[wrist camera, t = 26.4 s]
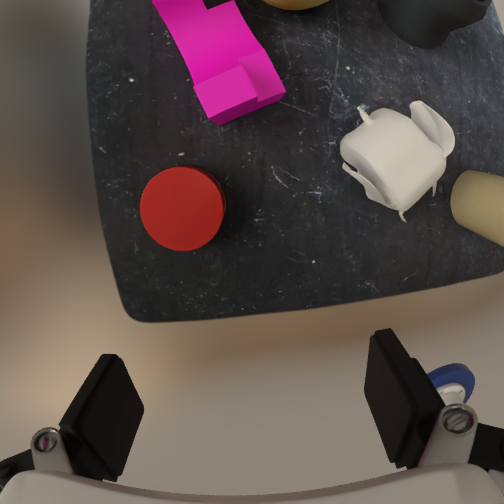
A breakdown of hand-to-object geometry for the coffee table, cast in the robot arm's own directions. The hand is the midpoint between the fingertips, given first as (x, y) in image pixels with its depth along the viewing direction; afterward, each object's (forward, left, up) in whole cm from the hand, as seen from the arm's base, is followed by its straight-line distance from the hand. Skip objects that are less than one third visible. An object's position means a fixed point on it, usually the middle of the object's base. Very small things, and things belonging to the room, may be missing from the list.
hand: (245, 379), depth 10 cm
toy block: (+11, +15, -21) cm, 28 cm away
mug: (+31, +6, -21) cm, 38 cm away
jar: (+21, -16, -21) cm, 34 cm away
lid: (-2, +6, -18) cm, 19 cm away
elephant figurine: (+14, -4, -21) cm, 26 cm away
